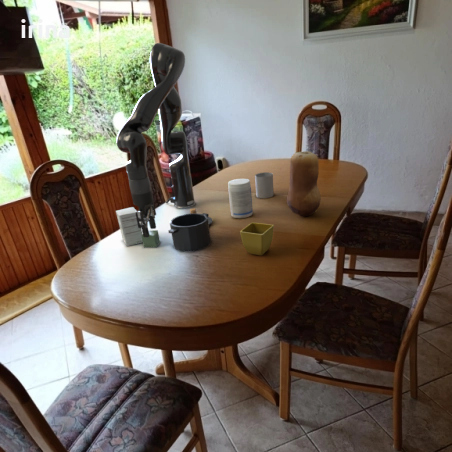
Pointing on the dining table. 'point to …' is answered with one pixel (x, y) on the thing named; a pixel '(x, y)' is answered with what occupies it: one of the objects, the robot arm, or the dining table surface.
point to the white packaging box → (129, 226)
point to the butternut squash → (304, 184)
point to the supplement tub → (240, 198)
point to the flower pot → (257, 237)
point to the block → (151, 239)
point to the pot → (190, 232)
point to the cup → (264, 185)
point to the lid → (196, 212)
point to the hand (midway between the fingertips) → (150, 232)
